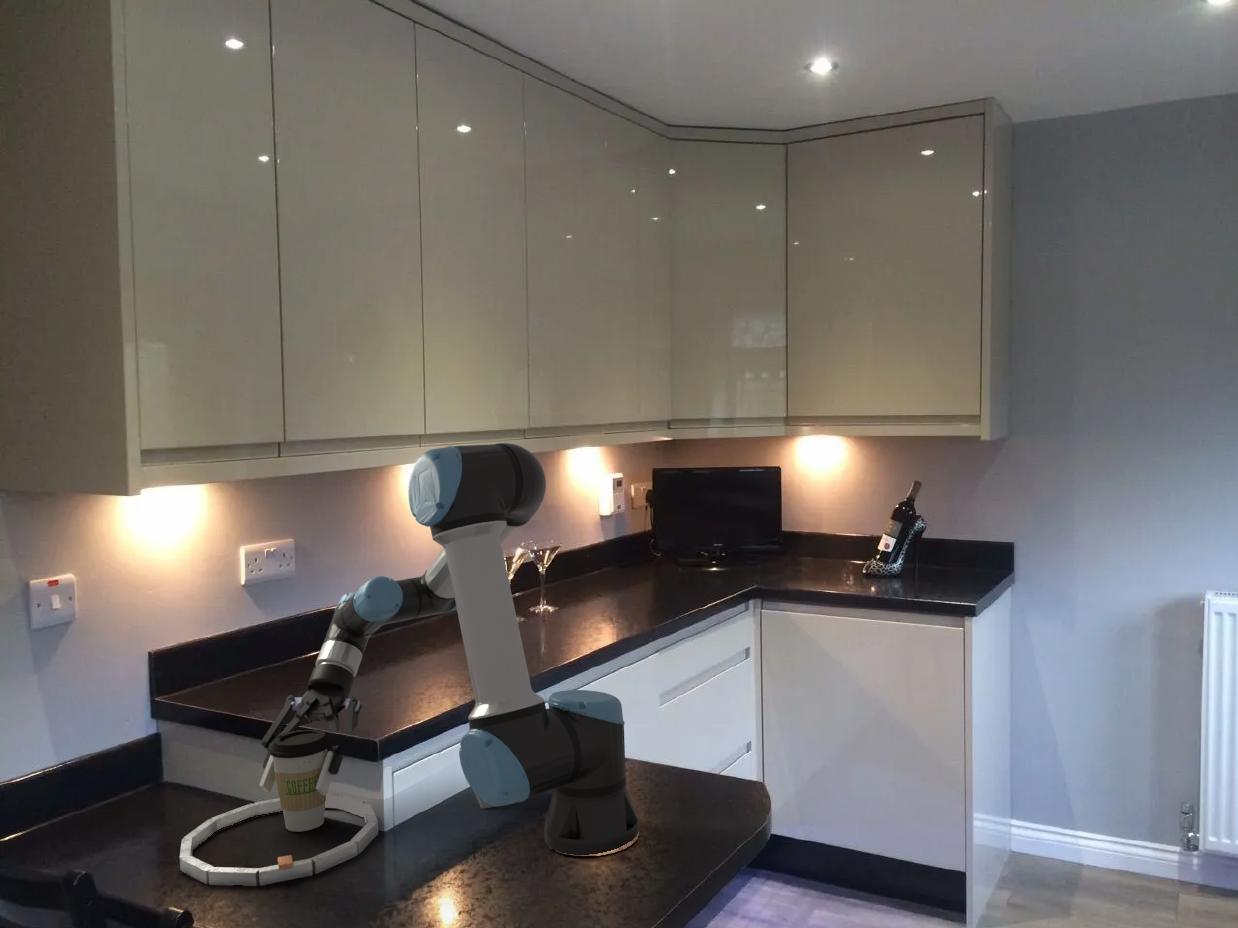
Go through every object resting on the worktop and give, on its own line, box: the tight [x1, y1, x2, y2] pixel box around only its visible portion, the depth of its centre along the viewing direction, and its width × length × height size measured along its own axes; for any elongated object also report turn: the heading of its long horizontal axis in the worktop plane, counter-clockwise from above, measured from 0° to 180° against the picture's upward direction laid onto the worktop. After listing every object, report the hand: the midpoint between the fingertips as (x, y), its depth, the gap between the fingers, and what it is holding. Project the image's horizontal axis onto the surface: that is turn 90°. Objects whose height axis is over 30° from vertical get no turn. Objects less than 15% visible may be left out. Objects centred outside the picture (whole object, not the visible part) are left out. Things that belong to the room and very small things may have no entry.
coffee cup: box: [269, 729, 330, 832], centre depth 169 cm, size 10×10×15 cm
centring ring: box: [179, 797, 379, 887], centre depth 163 cm, size 31×30×3 cm
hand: (292, 790), depth 166 cm, fingers closed on coffee cup, 10 cm apart
